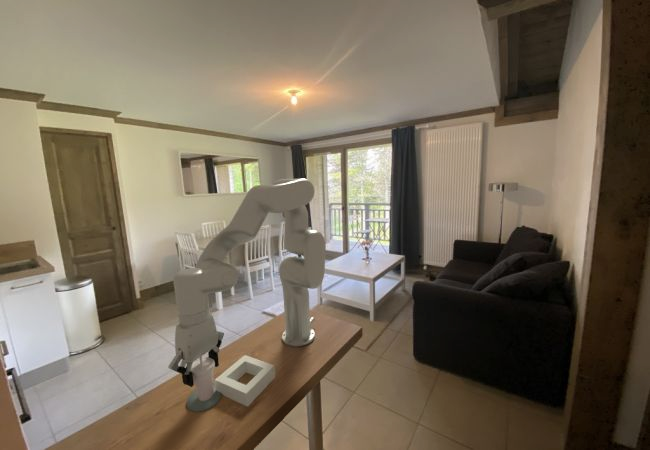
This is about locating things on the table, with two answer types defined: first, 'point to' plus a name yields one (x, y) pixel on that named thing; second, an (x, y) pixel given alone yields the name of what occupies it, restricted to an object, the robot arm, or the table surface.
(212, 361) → the lidded cup with straw
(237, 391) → the holder
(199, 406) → the coaster
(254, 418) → the table surface
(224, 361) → the table surface
